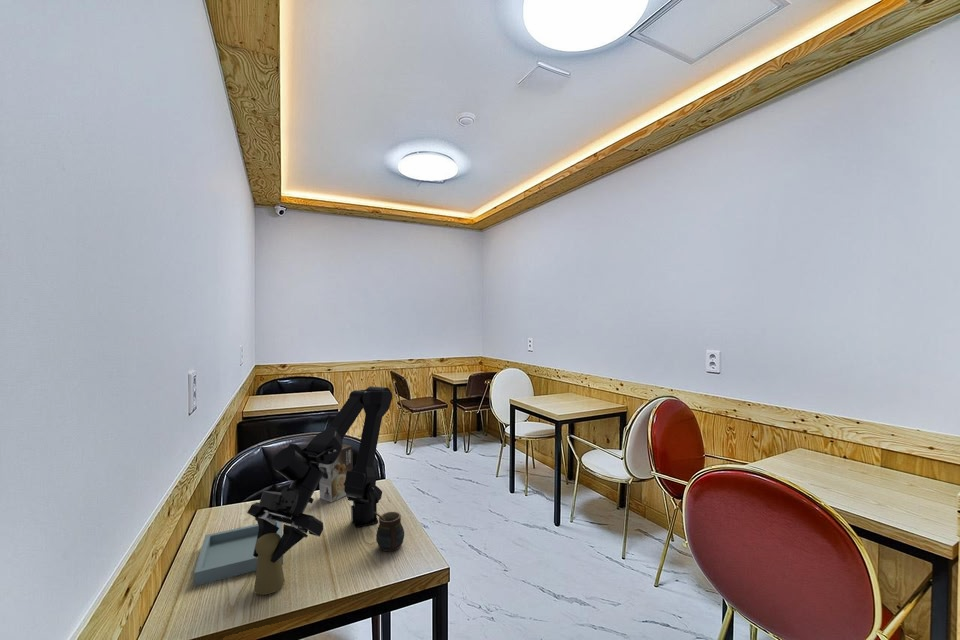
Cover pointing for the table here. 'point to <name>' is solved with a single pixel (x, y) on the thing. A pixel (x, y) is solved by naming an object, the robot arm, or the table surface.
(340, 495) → the coffee box
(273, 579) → the cork
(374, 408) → the robot arm
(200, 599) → the table surface
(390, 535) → the mate gourd
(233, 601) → the table surface
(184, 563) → the table surface
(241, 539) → the slate tray
